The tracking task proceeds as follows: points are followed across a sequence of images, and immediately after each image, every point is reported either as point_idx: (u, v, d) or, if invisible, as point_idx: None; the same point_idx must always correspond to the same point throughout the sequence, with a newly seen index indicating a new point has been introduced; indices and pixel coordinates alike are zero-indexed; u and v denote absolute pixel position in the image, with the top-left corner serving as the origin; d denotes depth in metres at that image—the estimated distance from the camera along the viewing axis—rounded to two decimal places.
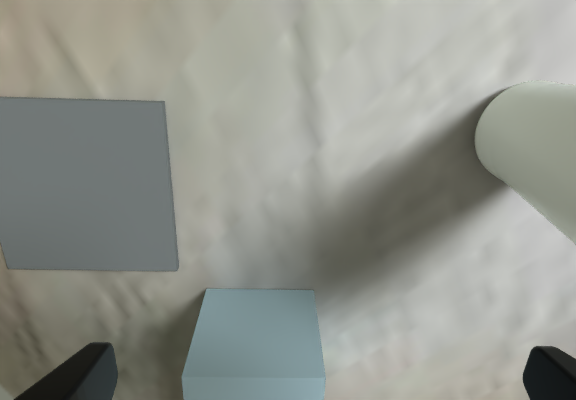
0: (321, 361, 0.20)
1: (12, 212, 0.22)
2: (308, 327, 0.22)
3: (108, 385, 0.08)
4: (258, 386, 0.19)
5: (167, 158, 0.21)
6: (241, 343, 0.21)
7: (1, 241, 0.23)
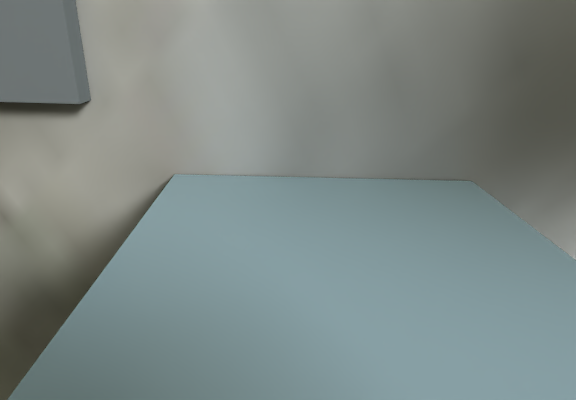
0: None
1: None
2: (539, 260, 0.06)
3: None
4: None
5: None
6: (303, 311, 0.05)
7: None
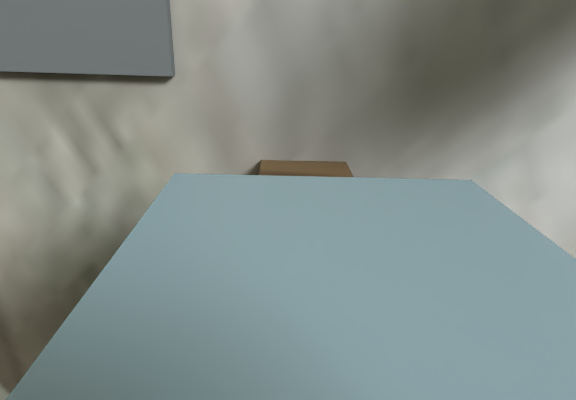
0: None
1: None
2: (538, 258, 0.06)
3: None
4: None
5: None
6: (304, 309, 0.05)
7: None
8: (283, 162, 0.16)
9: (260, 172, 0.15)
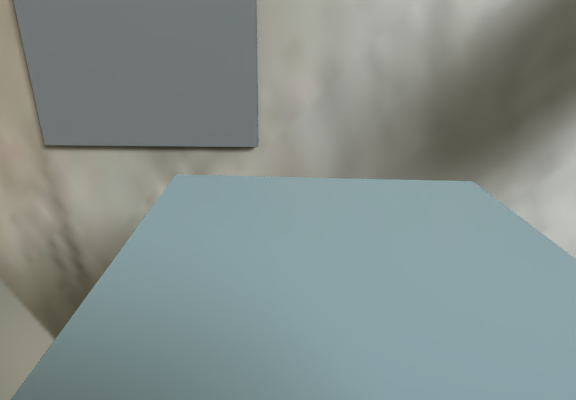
0: None
1: (52, 61, 0.17)
2: (540, 260, 0.06)
3: None
4: None
5: None
6: (305, 312, 0.05)
7: (37, 105, 0.18)
8: None
9: None
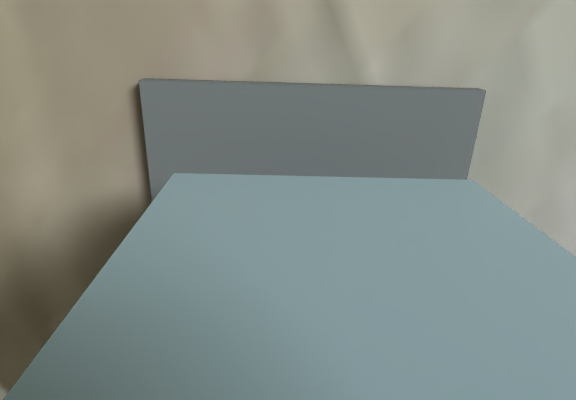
0: None
1: None
2: (541, 259, 0.06)
3: None
4: None
5: None
6: (303, 310, 0.05)
7: None
8: None
9: None
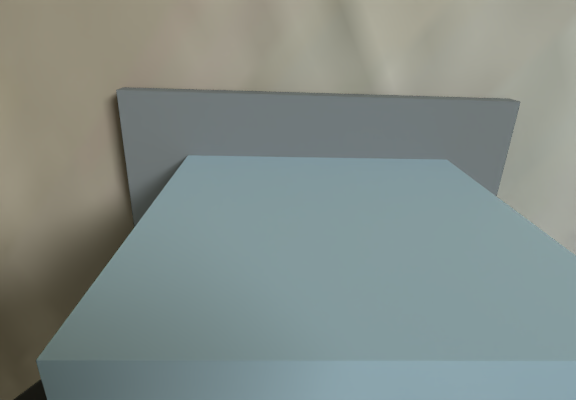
0: None
1: None
2: (490, 215, 0.07)
3: None
4: None
5: None
6: (297, 246, 0.06)
7: None
8: None
9: None
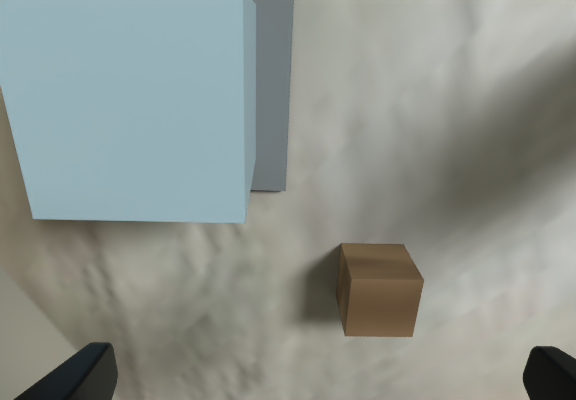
0: None
1: None
2: None
3: (108, 385, 0.08)
4: (121, 8, 0.10)
5: (291, 42, 0.17)
6: None
7: None
8: (358, 245, 0.22)
9: (346, 258, 0.21)
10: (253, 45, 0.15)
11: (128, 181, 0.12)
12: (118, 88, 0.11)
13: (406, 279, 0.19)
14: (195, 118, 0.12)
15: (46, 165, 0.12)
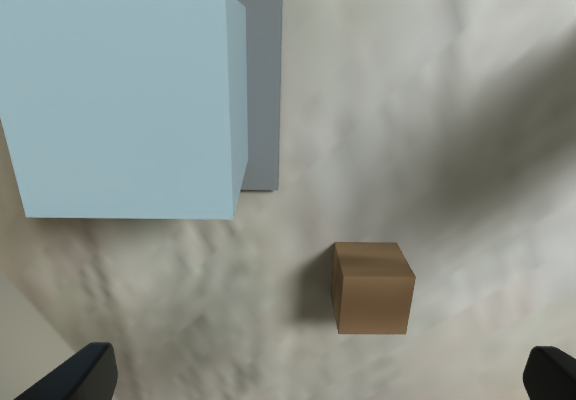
0: None
1: None
2: None
3: (108, 385, 0.08)
4: (108, 10, 0.11)
5: None
6: None
7: None
8: (351, 244, 0.22)
9: (339, 256, 0.21)
10: (242, 46, 0.16)
11: (118, 179, 0.13)
12: (106, 87, 0.12)
13: (398, 276, 0.19)
14: (182, 116, 0.12)
15: (37, 164, 0.12)
